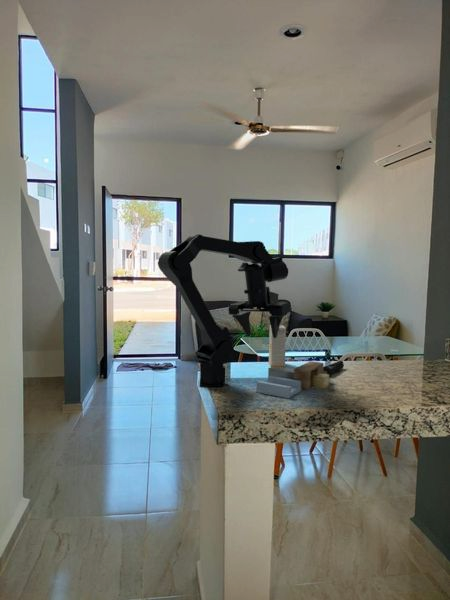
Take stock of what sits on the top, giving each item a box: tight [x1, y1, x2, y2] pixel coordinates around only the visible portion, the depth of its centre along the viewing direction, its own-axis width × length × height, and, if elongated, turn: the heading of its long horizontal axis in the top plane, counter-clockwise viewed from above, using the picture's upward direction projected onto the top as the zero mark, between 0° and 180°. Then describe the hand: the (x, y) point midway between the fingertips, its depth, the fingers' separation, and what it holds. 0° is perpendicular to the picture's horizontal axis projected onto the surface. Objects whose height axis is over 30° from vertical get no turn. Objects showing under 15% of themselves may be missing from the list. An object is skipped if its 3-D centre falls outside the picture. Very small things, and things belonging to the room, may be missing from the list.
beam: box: [293, 360, 325, 391], centre depth 117 cm, size 4×12×5 cm, turn 147°
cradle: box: [255, 376, 302, 399], centre depth 109 cm, size 9×8×3 cm
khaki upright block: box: [310, 372, 330, 391], centre depth 115 cm, size 7×4×4 cm, turn 55°
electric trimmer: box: [323, 360, 345, 379], centre depth 132 cm, size 4×16×3 cm, turn 145°
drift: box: [267, 366, 294, 380], centre depth 120 cm, size 9×4×4 cm, turn 53°
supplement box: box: [268, 324, 287, 368], centre depth 140 cm, size 8×5×13 cm, turn 179°
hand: (261, 336), depth 124 cm, fingers open, 9 cm apart
